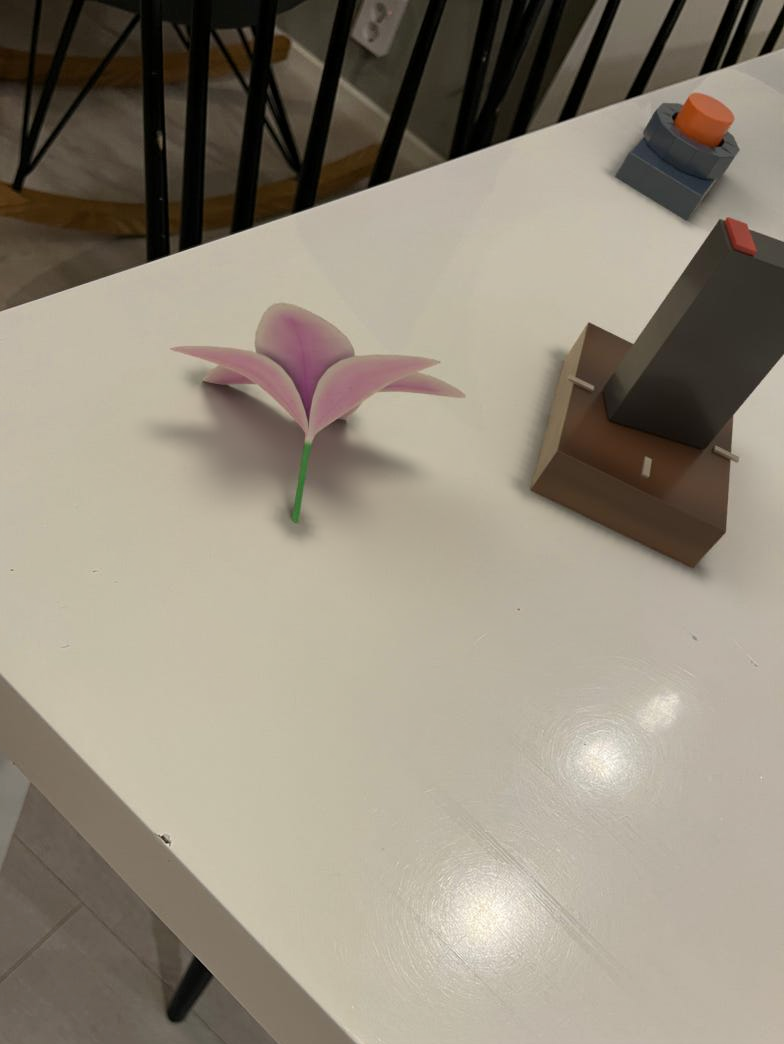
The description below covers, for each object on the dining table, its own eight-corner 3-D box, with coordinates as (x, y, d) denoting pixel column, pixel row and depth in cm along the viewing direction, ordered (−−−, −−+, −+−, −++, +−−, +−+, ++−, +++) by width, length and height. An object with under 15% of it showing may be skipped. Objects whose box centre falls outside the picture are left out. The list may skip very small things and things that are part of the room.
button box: (687, 226, 77) (721, 175, 74) (609, 178, 77) (640, 125, 74) (720, 180, 83) (752, 132, 80) (647, 136, 84) (677, 87, 81)
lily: (447, 512, 52) (489, 307, 49) (398, 587, 42) (447, 333, 38) (214, 461, 55) (237, 261, 51) (113, 519, 44) (132, 274, 40)
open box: (696, 417, 57) (828, 251, 49) (704, 450, 55) (843, 283, 47) (602, 388, 56) (722, 213, 48) (608, 420, 54) (733, 245, 46)
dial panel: (696, 575, 54) (735, 533, 52) (521, 490, 54) (552, 445, 51) (708, 435, 62) (742, 393, 59) (556, 361, 61) (584, 316, 59)
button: (710, 155, 76) (728, 127, 75) (667, 128, 77) (683, 101, 75) (722, 139, 79) (739, 113, 77) (679, 114, 79) (696, 87, 77)
